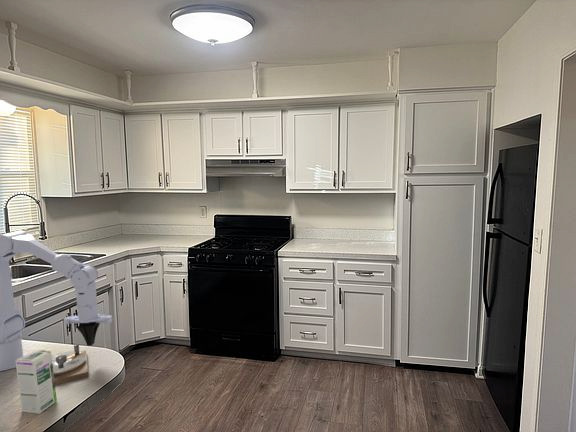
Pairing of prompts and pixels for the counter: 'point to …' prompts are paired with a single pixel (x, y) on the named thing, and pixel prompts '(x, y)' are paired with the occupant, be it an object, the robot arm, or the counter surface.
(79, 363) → the capstan dial
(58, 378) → the tan base board
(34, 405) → the syrup box
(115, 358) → the counter surface
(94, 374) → the counter surface
